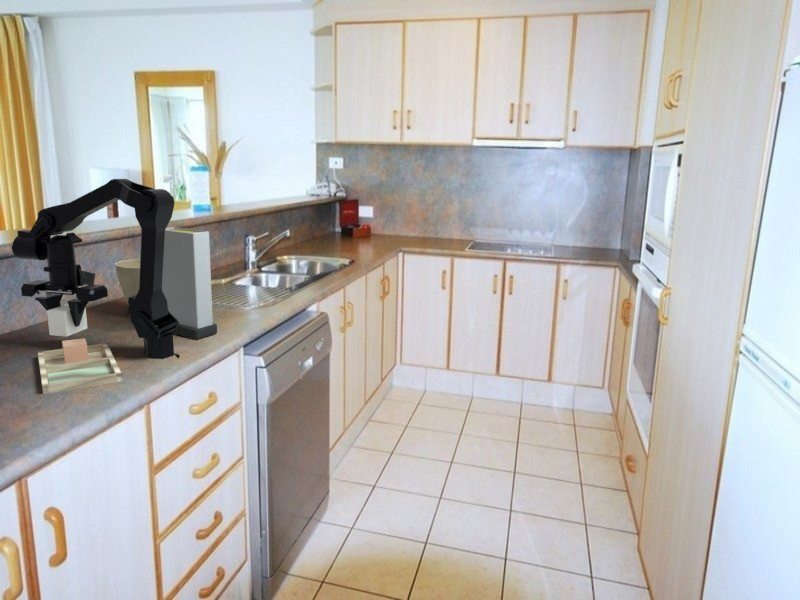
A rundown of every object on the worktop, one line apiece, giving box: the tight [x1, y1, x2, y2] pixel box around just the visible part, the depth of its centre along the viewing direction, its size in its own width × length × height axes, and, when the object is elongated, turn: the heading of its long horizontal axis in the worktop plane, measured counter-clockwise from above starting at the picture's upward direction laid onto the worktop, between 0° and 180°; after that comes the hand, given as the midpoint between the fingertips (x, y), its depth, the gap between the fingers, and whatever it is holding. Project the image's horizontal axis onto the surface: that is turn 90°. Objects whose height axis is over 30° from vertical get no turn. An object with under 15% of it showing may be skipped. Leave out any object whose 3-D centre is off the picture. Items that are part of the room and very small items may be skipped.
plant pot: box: [114, 258, 140, 307], centre depth 166 cm, size 15×15×16 cm
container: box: [162, 226, 218, 340], centre depth 150 cm, size 7×18×30 cm, turn 62°
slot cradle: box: [37, 342, 123, 395], centre depth 121 cm, size 23×14×2 cm, turn 34°
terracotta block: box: [61, 337, 88, 364], centre depth 125 cm, size 4×4×4 cm
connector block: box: [46, 303, 88, 337], centre depth 134 cm, size 4×7×6 cm, turn 171°
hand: (68, 325), depth 134 cm, fingers closed on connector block, 4 cm apart
